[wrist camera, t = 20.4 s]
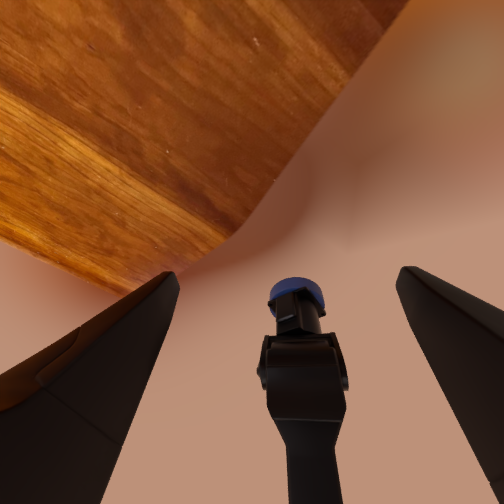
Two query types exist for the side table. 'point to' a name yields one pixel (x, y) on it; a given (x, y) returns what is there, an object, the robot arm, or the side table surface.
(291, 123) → the side table surface
